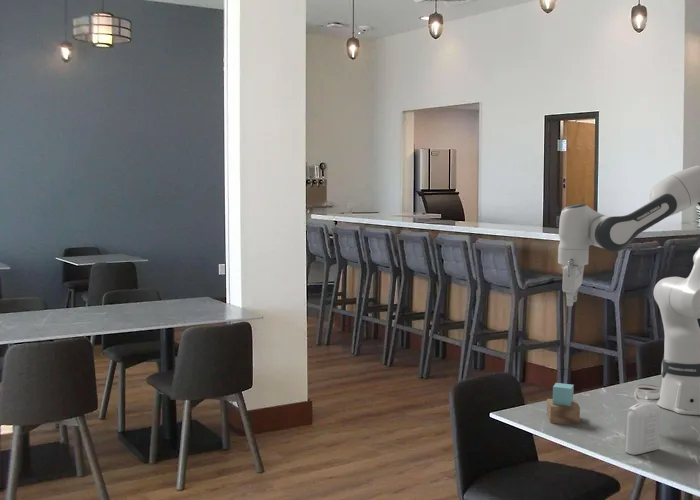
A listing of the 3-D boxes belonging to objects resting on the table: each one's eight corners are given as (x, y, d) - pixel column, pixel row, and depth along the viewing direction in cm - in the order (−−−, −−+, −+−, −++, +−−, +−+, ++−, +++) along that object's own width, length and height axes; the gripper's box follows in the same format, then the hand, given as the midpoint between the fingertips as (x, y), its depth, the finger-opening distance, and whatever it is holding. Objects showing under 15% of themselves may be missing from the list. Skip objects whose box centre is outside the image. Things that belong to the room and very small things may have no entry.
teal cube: (573, 401, 228) (573, 384, 228) (570, 406, 224) (571, 388, 223) (555, 399, 230) (555, 382, 230) (552, 404, 226) (553, 386, 225)
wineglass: (627, 427, 219) (628, 385, 218) (646, 425, 222) (648, 383, 221) (644, 435, 213) (645, 391, 212) (664, 432, 215) (666, 389, 214)
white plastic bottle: (647, 444, 205) (649, 398, 204) (661, 449, 202) (663, 401, 201) (621, 452, 200) (623, 403, 199) (636, 456, 196) (637, 407, 195)
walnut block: (574, 416, 231) (575, 399, 230) (579, 425, 223) (579, 407, 222) (546, 415, 232) (547, 398, 231) (550, 423, 224) (550, 406, 223)
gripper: (580, 261, 228) (578, 309, 229) (587, 256, 247) (585, 300, 248) (557, 260, 230) (556, 307, 231) (566, 255, 249) (565, 298, 250)
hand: (571, 303), depth 240 cm, fingers open, 8 cm apart
